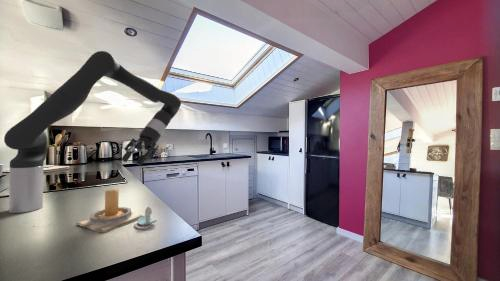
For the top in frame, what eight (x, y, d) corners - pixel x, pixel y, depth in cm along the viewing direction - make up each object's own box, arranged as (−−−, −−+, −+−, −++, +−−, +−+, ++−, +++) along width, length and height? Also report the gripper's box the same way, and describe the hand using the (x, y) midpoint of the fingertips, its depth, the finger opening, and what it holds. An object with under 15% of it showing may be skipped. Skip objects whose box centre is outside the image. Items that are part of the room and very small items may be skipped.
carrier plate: (76, 224, 70) (76, 216, 70) (117, 211, 83) (117, 204, 83) (103, 233, 64) (103, 223, 64) (142, 217, 77) (142, 209, 77)
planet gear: (93, 220, 72) (93, 191, 72) (114, 213, 79) (115, 186, 79) (107, 224, 69) (108, 194, 69) (128, 216, 76) (129, 189, 76)
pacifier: (141, 232, 66) (159, 225, 71) (141, 213, 66) (159, 207, 71) (130, 226, 70) (147, 220, 75) (130, 208, 70) (147, 203, 75)
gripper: (136, 124, 91) (112, 155, 83) (160, 127, 86) (137, 160, 78) (146, 134, 97) (125, 164, 89) (170, 138, 92) (149, 170, 83)
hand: (130, 162), depth 83 cm, fingers open, 8 cm apart
